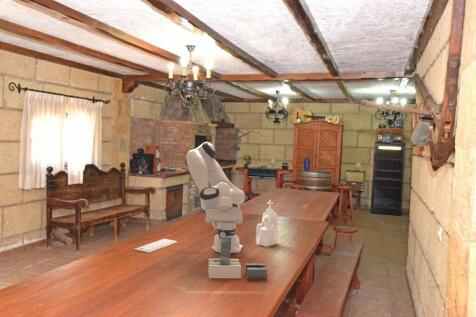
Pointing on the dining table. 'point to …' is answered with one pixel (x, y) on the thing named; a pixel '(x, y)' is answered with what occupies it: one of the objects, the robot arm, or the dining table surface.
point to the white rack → (224, 269)
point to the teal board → (225, 250)
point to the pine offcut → (216, 259)
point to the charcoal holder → (255, 271)
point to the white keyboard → (155, 245)
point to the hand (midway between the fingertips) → (224, 229)
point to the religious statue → (267, 228)
